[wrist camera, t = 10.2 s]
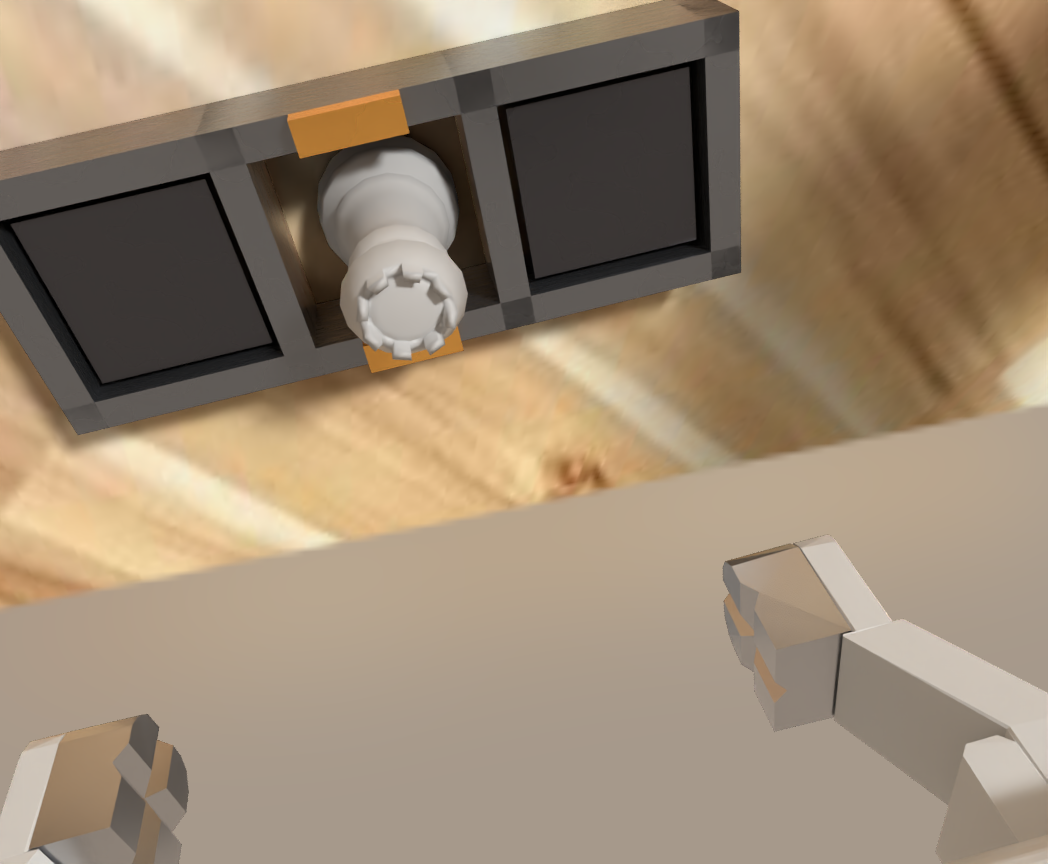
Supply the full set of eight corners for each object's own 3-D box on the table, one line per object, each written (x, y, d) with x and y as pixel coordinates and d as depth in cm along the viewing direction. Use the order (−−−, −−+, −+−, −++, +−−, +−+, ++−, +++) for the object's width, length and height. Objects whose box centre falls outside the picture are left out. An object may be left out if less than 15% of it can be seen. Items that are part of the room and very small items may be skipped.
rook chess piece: (288, 168, 26) (278, 283, 20) (417, 103, 26) (449, 200, 19) (360, 284, 29) (371, 418, 23) (478, 227, 28) (523, 347, 22)
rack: (700, -8, 25) (747, 15, 23) (707, 236, 30) (747, 280, 27) (-34, 159, 24) (-82, 205, 21) (97, 384, 29) (73, 446, 26)
